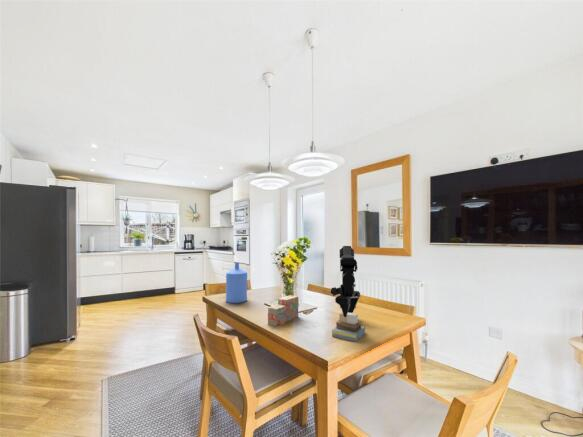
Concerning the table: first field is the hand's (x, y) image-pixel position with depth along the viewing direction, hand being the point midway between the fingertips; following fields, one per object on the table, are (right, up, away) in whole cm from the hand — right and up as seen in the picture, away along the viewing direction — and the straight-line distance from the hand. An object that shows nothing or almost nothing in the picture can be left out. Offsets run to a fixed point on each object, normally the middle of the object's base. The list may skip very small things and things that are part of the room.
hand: (348, 314), depth 131 cm
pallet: (0, -7, 0) cm, 7 cm away
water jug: (-69, -14, +67) cm, 97 cm away
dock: (0, -10, 0) cm, 10 cm away
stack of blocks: (-33, -12, +21) cm, 41 cm away
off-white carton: (+2, -4, -1) cm, 4 cm away
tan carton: (-2, -4, +1) cm, 4 cm away
